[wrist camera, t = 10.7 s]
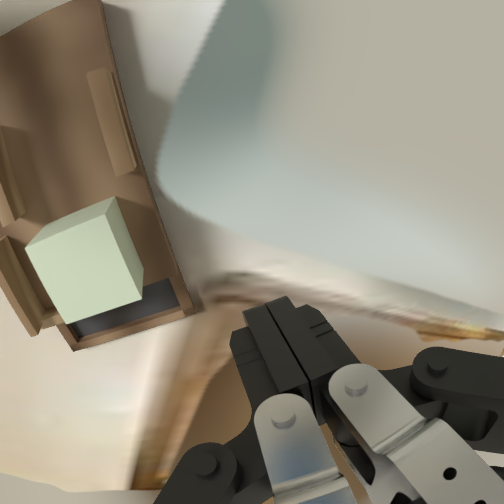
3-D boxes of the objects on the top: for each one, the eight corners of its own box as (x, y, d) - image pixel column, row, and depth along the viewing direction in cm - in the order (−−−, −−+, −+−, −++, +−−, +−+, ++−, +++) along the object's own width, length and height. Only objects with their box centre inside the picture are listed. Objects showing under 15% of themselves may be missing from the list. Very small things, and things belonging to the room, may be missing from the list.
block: (77, 291, 23) (66, 324, 19) (45, 224, 20) (24, 248, 16) (143, 268, 23) (141, 299, 20) (114, 195, 21) (104, 214, 17)
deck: (74, 345, 27) (66, 384, 22) (-32, 72, 14) (-67, 67, 9) (194, 307, 29) (203, 344, 24) (101, 1, 16) (88, -25, 11)
